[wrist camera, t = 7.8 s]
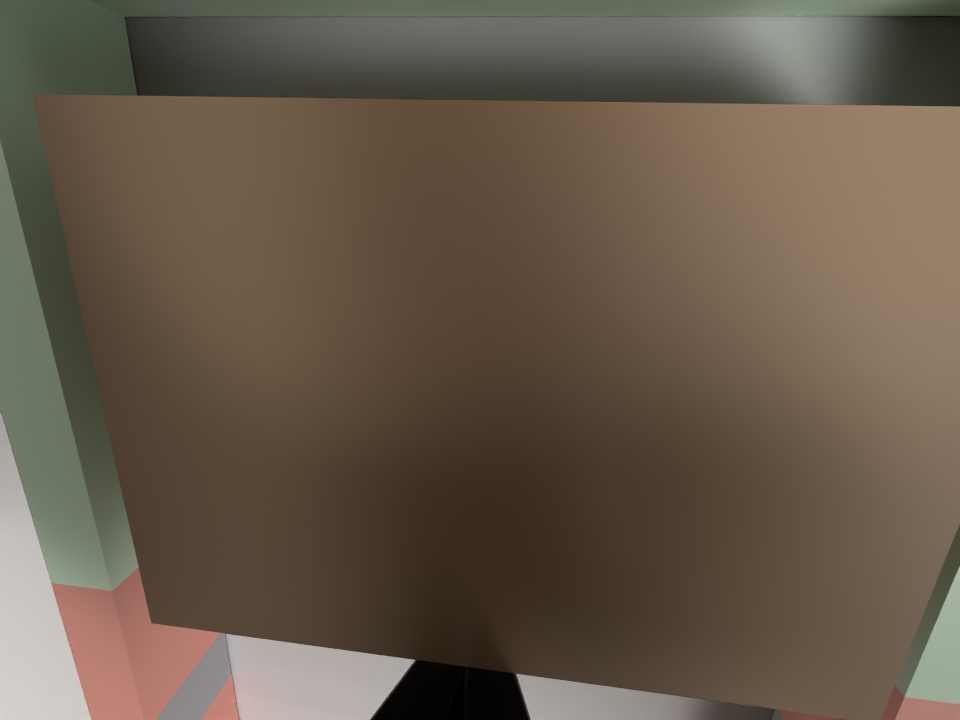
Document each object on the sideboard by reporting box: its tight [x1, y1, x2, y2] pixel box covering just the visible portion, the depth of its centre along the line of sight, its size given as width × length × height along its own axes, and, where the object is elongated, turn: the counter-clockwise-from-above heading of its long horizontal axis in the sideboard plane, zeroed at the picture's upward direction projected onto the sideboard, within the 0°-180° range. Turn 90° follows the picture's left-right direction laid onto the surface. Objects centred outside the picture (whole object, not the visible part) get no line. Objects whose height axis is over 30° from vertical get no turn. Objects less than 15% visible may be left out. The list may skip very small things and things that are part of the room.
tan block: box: [32, 94, 960, 720], centre depth 7 cm, size 10×7×4 cm
